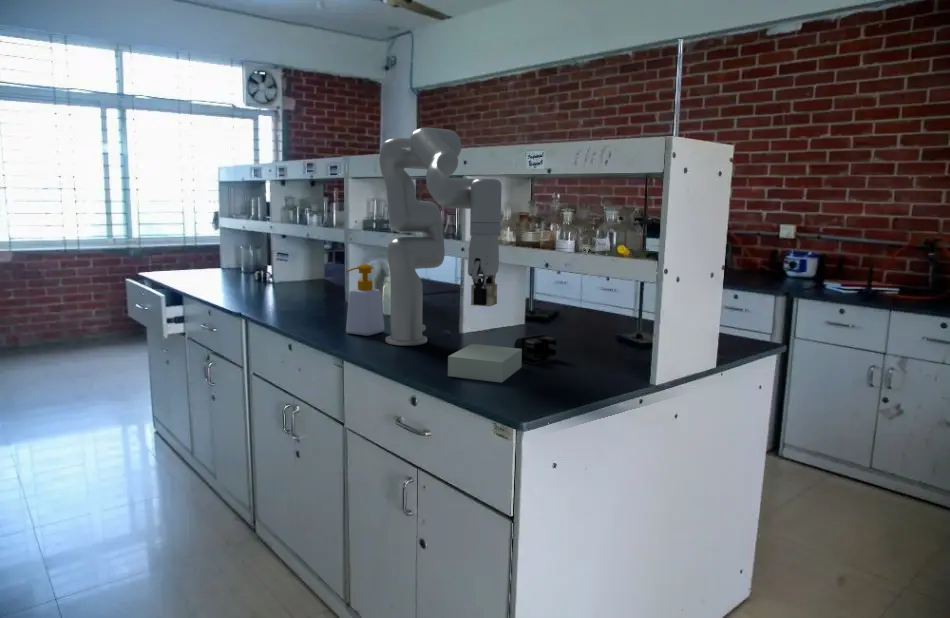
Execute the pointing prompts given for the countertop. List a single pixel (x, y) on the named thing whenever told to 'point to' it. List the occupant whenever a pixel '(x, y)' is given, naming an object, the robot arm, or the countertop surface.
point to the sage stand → (485, 362)
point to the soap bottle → (364, 307)
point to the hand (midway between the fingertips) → (484, 302)
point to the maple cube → (490, 295)
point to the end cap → (536, 348)
